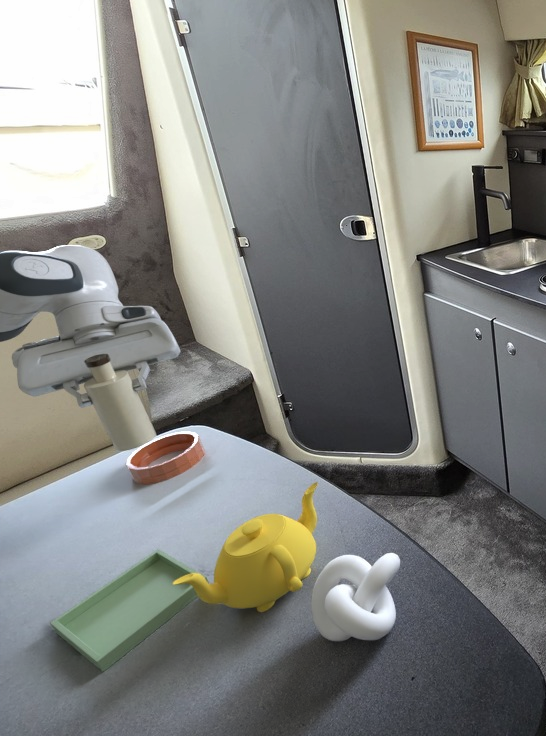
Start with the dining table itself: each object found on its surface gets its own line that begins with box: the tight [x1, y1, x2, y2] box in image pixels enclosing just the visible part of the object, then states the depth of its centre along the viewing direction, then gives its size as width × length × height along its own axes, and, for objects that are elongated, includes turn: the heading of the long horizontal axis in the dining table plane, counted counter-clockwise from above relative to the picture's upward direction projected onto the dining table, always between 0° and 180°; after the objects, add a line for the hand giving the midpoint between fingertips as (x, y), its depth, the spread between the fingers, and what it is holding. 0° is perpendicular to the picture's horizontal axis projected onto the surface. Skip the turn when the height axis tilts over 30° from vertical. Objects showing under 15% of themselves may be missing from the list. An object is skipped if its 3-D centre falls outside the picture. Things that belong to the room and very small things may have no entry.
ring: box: [125, 431, 205, 485], centre depth 100 cm, size 11×12×5 cm
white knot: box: [310, 552, 401, 642], centre depth 68 cm, size 11×12×9 cm
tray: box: [49, 548, 210, 673], centre depth 73 cm, size 13×13×2 cm
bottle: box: [83, 354, 157, 452], centre depth 85 cm, size 6×6×17 cm
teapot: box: [173, 481, 319, 613], centre depth 74 cm, size 20×15×12 cm
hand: (114, 396), depth 85 cm, fingers closed on bottle, 5 cm apart
